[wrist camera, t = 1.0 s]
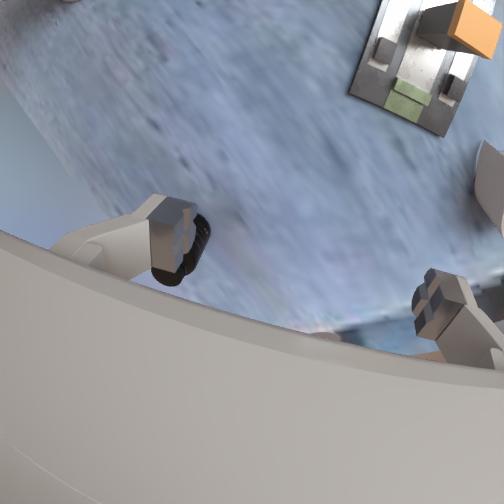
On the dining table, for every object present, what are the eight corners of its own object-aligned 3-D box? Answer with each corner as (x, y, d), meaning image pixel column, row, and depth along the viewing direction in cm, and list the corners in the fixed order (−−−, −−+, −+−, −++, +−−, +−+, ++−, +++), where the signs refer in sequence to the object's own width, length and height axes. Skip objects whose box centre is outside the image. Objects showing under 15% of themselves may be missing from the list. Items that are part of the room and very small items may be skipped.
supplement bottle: (183, 245, 55) (156, 292, 46) (168, 213, 51) (135, 257, 42) (217, 241, 53) (194, 291, 44) (204, 206, 49) (175, 253, 40)
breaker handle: (444, 51, 26) (491, 59, 16) (415, 34, 25) (454, 34, 16) (453, 24, 23) (502, 24, 14) (424, 7, 23) (466, -2, 14)
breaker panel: (440, 135, 34) (448, 143, 32) (348, 91, 34) (351, 95, 31) (495, -14, 17) (506, -16, 15) (402, -68, 17) (408, -75, 15)
